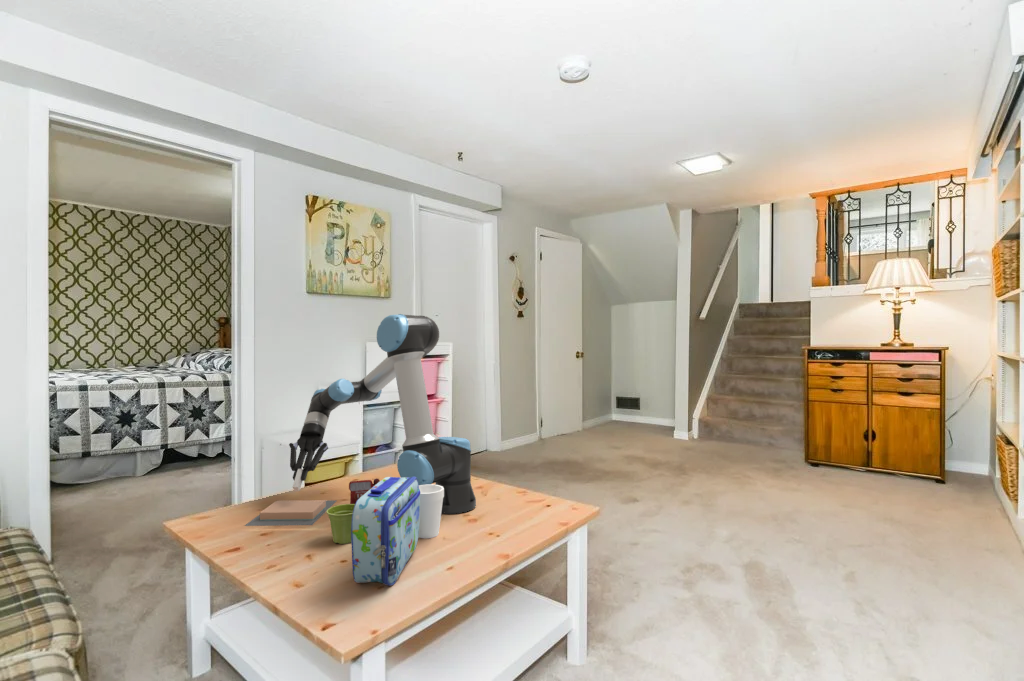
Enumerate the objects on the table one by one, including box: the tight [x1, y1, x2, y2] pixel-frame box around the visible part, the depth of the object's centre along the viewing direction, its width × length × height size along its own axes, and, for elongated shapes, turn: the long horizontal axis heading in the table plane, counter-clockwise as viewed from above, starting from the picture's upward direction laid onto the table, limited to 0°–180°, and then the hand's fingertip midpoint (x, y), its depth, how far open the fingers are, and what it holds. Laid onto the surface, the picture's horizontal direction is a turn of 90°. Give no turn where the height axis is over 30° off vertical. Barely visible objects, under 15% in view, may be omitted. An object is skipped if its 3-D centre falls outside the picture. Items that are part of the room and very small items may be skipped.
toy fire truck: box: [348, 478, 381, 504], centre depth 171 cm, size 7×12×10 cm, turn 109°
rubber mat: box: [244, 499, 338, 527], centre depth 168 cm, size 24×20×1 cm
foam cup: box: [418, 483, 444, 539], centre depth 150 cm, size 10×9×13 cm
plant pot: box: [325, 503, 355, 545], centre depth 146 cm, size 9×9×9 cm
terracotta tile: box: [259, 499, 327, 521], centre depth 167 cm, size 2×16×12 cm
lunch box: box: [350, 476, 420, 587], centre depth 129 cm, size 26×11×21 cm, turn 174°
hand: (295, 488), depth 168 cm, fingers closed
